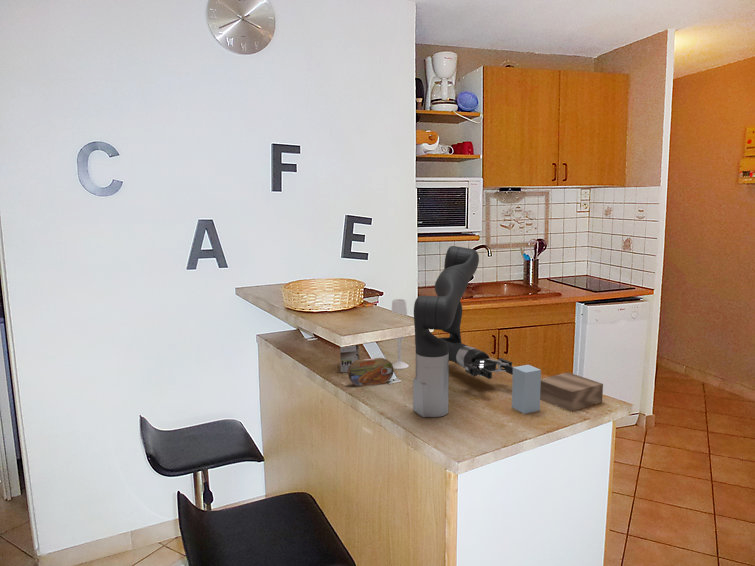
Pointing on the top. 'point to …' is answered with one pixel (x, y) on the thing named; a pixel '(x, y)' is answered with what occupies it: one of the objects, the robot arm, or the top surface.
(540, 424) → the top surface
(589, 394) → the walnut block
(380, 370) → the tin
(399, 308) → the champagne flute
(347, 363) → the coffee box
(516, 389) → the slate block
